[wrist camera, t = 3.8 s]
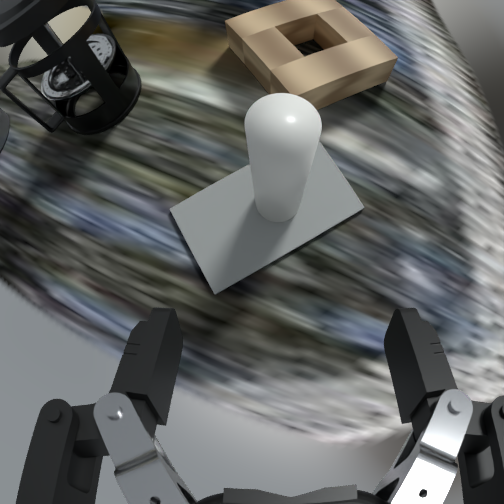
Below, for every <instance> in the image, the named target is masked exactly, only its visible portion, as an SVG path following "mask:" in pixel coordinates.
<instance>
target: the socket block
mask: <svg viewBox="0 0 504 504" xmlns="http://www.w3.org/2000/svg"><path fill="white" fill-rule="evenodd" d="M225 25H226V31H227V37H228V43H229V47H230V48H231V49H232V50H233V52H234V53H235V54H236V55H237V56H238V57H239V58H240V60H241V61H242V62H243V63H244V64H245V66H246V67H247V68H248V69H249V70H250V72H251V73H252V74H253V75H254V76H255V78H256V79H257V80H258V81H259V82H260V84H261V85H262V86H263V87H264V89H265V90H266V91H267V92H268V94H269V95H270V94H275V93H288V94H293V95H297V96H299V97H302V98H303V99H305V100H307V101H308V102H309V103H311V104H312V105H313V106H314V107H315V109H316V110H319V109H321V108H323V107H326V106H328V105H330V104H332V103H335V102H337V101H339V100H342V99H344V98H346V97H349V96H351V95H354V94H356V93H359V92H361V91H363V90H366V89H368V88H371V87H373V86H376V85H379V84H381V83H384V82H386V81H387V80H388V78H389V76H390V74H391V71H392V69H393V67H394V65H395V63H396V61H397V59H398V57H397V56H396V55H395V54H394V53H393V52H392V51H391V50H390V49H389V48H388V47H387V46H386V45H385V44H384V43H383V42H382V41H381V40H380V39H379V38H378V37H377V36H376V35H374V34H373V33H372V32H371V31H370V30H369V29H368V28H367V27H366V26H365V25H364V24H362V23H361V22H360V21H359V20H358V19H357V18H356V17H354V16H353V15H352V14H351V13H350V12H349V11H347V10H346V9H345V8H344V7H343V6H341V5H340V4H339V3H338V2H336V1H335V0H286V1H282V2H279V3H275V4H272V5H269V6H265V7H262V8H259V9H256V10H253V11H250V12H247V13H244V14H242V15H239V16H236V17H233V18H231V19H228V20H225ZM312 39H314V40H315V41H316V42H317V43H318V44H319V45H320V46H321V47H322V48H323V49H324V50H322V51H319V52H317V53H314V54H311V55H308V56H305V57H304V56H303V55H302V54H301V52H300V51H299V50H298V49H297V48H296V47H295V45H297V44H300V43H303V42H306V41H309V40H312Z"/></svg>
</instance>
